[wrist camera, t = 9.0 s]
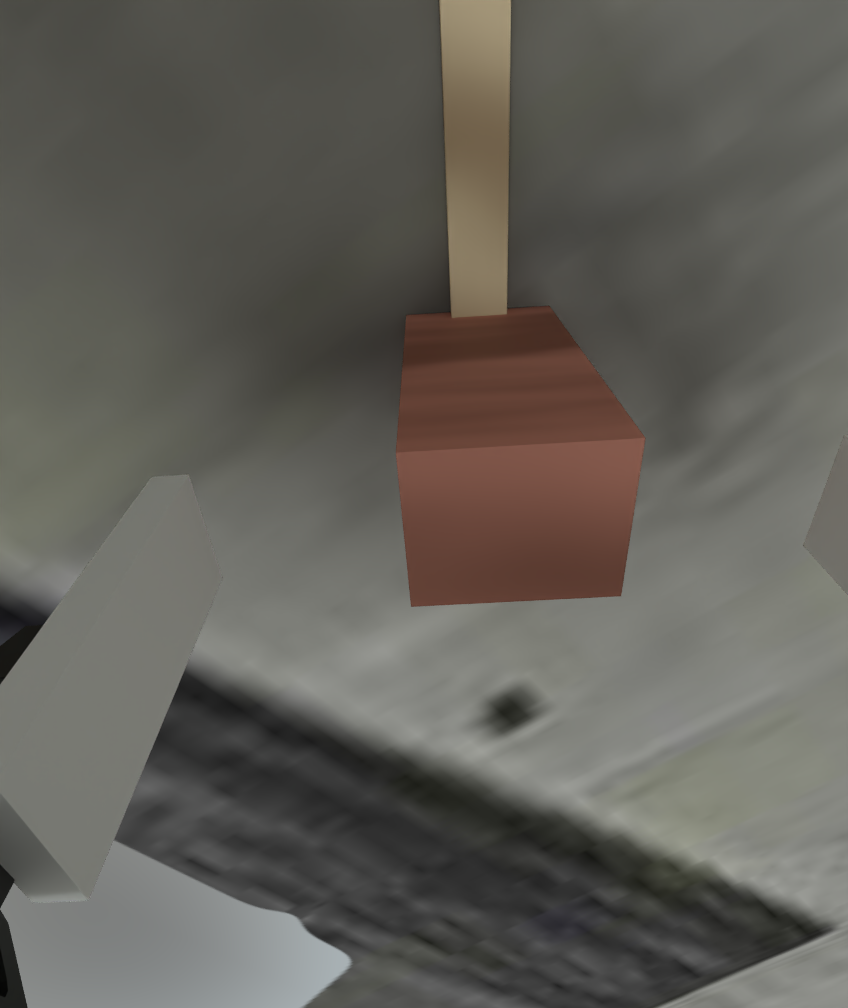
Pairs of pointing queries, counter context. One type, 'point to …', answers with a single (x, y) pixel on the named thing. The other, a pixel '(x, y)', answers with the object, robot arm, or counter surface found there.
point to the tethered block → (502, 386)
